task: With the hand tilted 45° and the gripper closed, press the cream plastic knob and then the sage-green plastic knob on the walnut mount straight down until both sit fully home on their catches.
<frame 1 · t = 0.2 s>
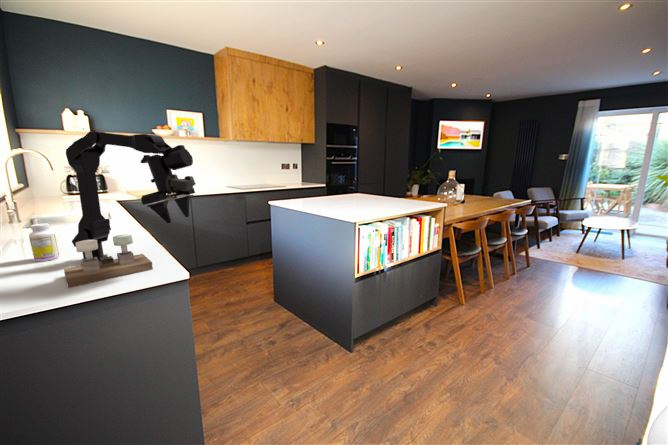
hand: (178, 219, 100), 15 cm above the counter, tool pointing down, fingers open, 9 cm apart
supplement bottle: (47, 259, 109), on the counter
knob mount: (110, 272, 95), on the counter
knob sage: (123, 244, 96), point 8 cm above the counter, slide at 3.0 cm
knob cream: (87, 250, 90), point 8 cm above the counter, slide at 3.0 cm
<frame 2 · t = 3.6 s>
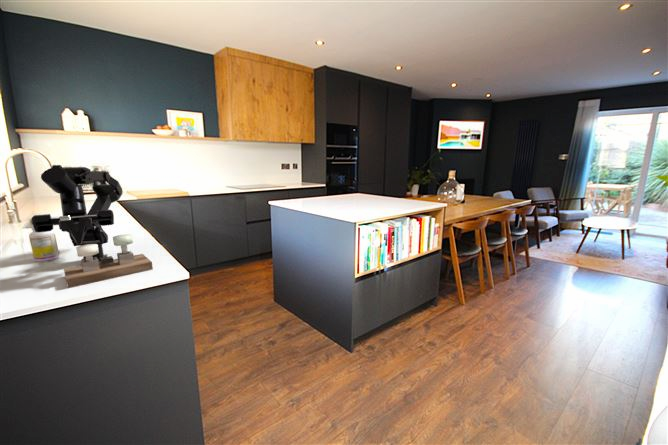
hand: (79, 244, 90), 10 cm above the counter, tool tilted 40°, fingers closed
knob cream: (88, 255, 91), point 7 cm above the counter, slide at 1.6 cm
everything else where it was.
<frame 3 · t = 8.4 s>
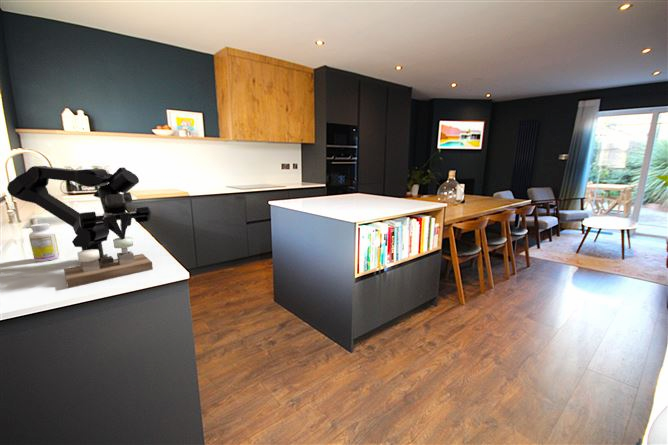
hand: (123, 238, 95), 11 cm above the counter, tool tilted 45°, fingers closed, pressing on knob sage
knob sage: (124, 247, 97), point 8 cm above the counter, slide at 2.2 cm, touching gripper
knob cream: (89, 260, 91), point 5 cm above the counter, slide at -0.1 cm, touching knob mount
everything else where it was.
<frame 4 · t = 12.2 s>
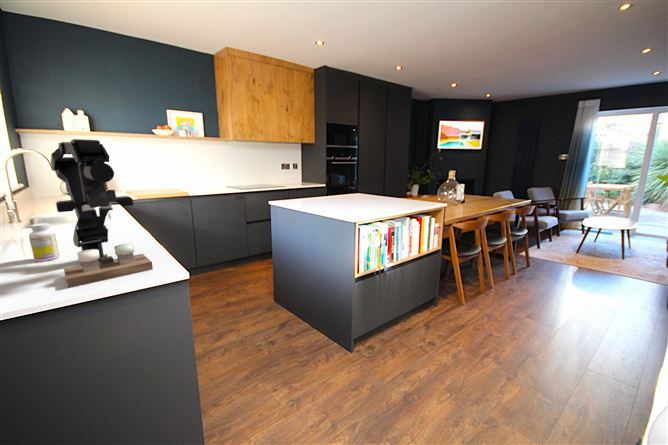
hand: (101, 230, 97), 13 cm above the counter, tool pointing down, fingers closed
knob sage: (125, 254, 97), point 5 cm above the counter, slide at -0.1 cm, touching knob mount
everything else where it was.
at the end: knob cream slide at -0.1 cm; knob sage slide at -0.1 cm; supplement bottle moved 0.2 cm from its start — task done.
